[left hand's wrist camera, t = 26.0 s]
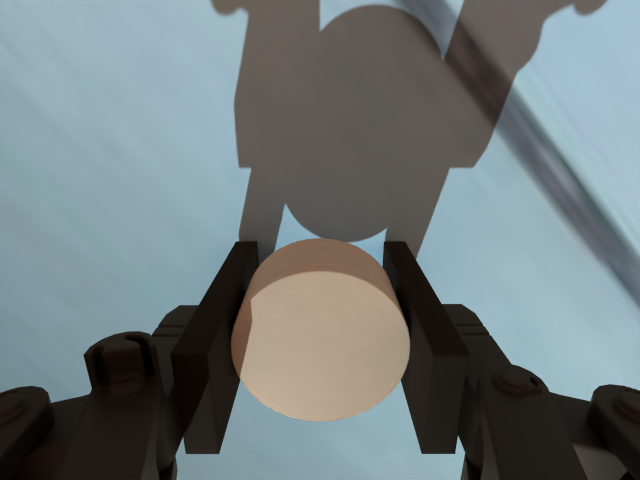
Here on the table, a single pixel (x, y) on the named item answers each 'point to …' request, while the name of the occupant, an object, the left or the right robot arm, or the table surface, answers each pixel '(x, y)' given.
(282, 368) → the lid
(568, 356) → the table surface
